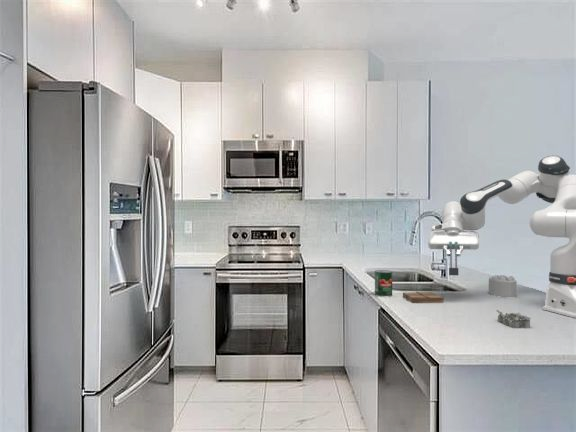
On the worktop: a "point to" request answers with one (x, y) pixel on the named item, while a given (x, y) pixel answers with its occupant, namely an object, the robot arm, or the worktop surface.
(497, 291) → the lumpy-topped squat cylinder
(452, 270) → the tongs
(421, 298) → the board
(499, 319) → the egg carton
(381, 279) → the canned tomato
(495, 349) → the worktop surface
